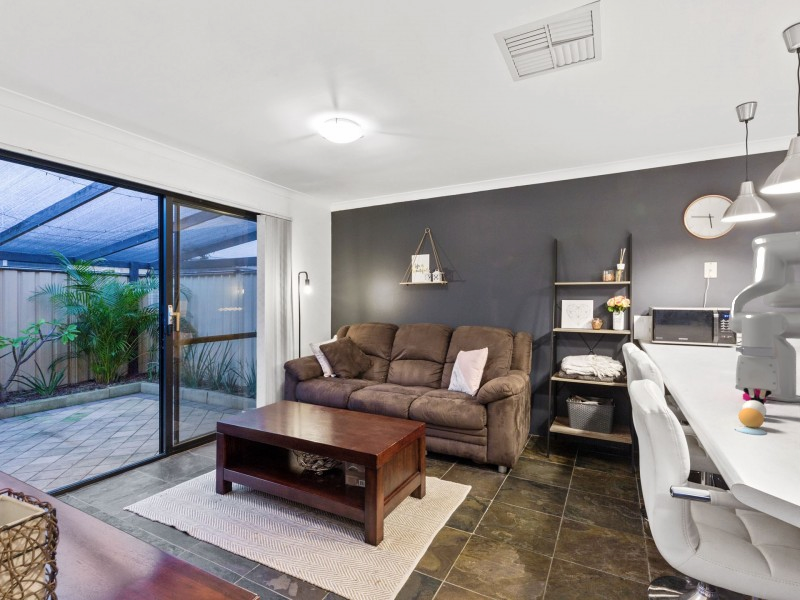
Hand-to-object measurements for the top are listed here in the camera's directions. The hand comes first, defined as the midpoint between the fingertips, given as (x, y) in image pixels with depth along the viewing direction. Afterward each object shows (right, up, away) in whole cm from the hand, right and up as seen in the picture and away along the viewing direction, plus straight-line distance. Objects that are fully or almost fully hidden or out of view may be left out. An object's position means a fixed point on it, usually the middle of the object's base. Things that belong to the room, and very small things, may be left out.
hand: (757, 410), depth 127 cm
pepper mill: (+14, -1, +17) cm, 22 cm away
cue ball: (-4, +1, -4) cm, 6 cm away
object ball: (-12, +1, -12) cm, 17 cm away
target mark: (-15, -2, -14) cm, 21 cm away
